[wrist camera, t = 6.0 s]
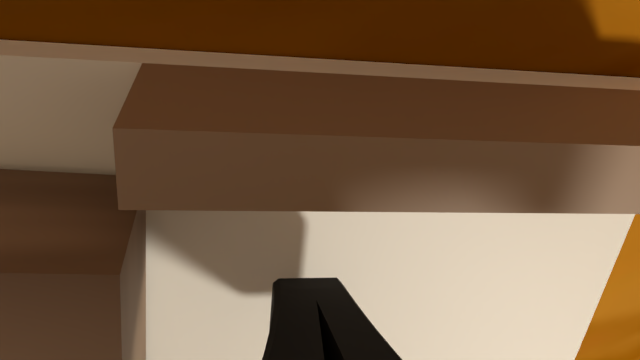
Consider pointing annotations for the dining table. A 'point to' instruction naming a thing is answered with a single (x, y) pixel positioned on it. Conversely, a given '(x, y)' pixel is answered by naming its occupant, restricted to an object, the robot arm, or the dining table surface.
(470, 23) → the dining table surface
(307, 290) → the robot arm
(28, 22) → the dining table surface
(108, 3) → the dining table surface
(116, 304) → the leg
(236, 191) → the seat board
